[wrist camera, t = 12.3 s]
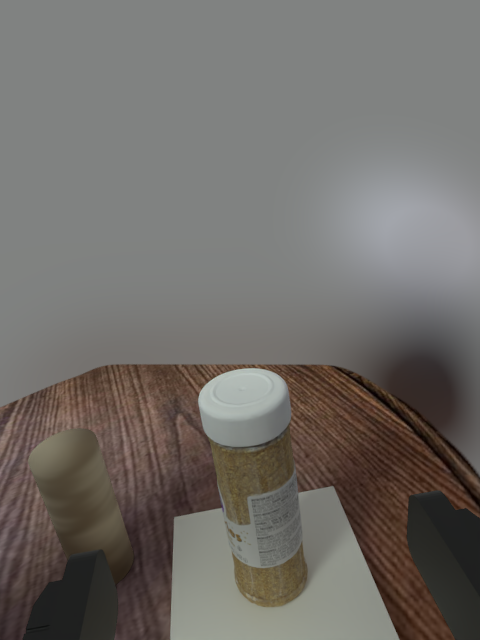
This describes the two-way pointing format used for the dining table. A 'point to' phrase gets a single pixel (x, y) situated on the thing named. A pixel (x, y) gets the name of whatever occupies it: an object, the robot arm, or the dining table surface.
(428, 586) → the robot arm
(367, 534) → the dining table surface
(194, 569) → the ceramic tile
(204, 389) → the sprinkles bottle
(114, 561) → the beech dowel
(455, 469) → the dining table surface
